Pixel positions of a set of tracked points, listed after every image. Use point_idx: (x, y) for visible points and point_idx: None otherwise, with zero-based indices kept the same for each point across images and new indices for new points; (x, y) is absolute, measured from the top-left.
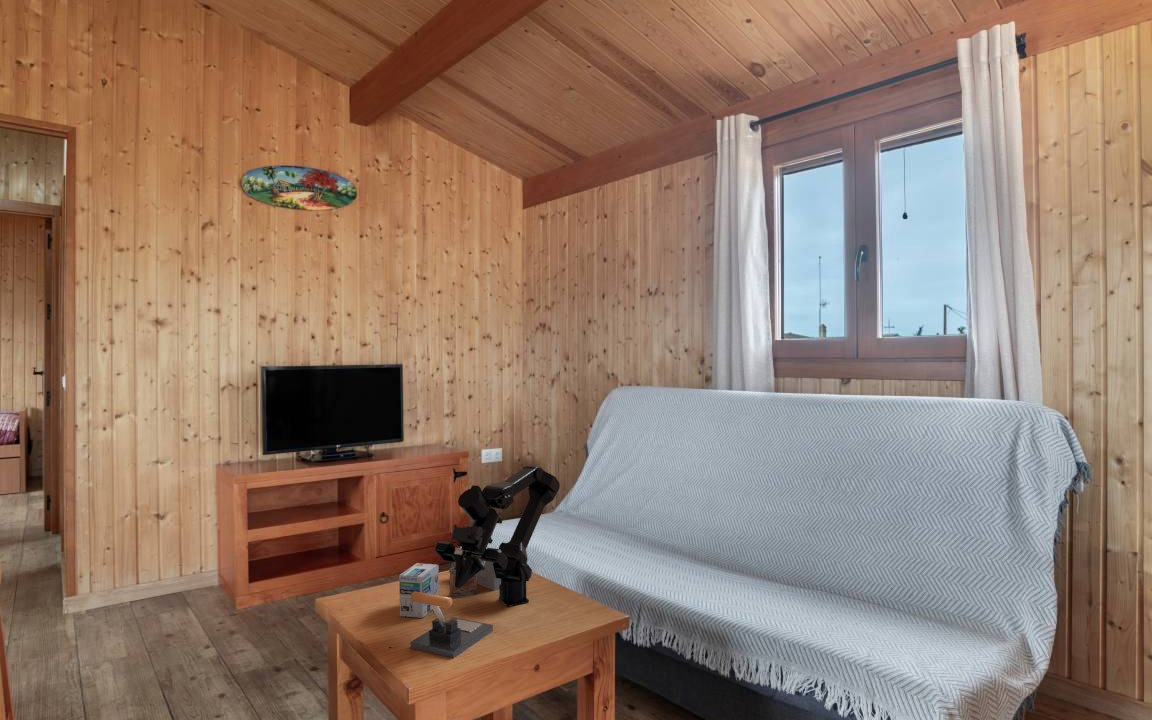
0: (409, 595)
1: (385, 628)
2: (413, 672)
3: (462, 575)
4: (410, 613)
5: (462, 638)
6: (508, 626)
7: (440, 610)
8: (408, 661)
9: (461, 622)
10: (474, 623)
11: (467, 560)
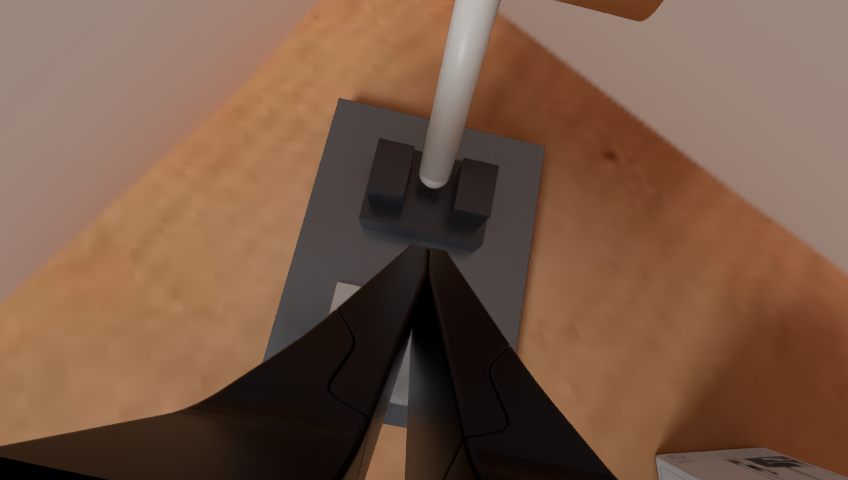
0: None
1: (732, 306)
2: (433, 7)
3: (374, 297)
4: (727, 454)
5: (347, 213)
6: None
7: (441, 76)
8: (488, 69)
9: None
10: None
11: (233, 473)
